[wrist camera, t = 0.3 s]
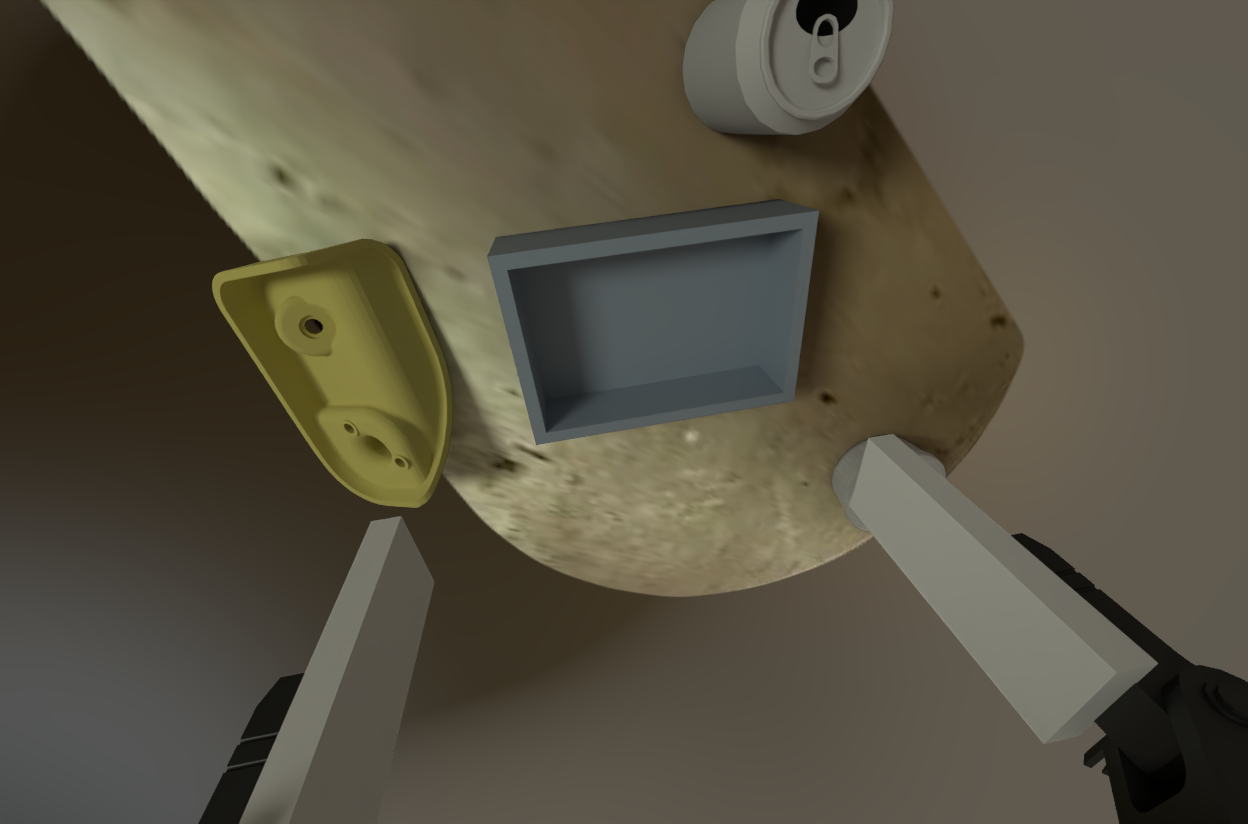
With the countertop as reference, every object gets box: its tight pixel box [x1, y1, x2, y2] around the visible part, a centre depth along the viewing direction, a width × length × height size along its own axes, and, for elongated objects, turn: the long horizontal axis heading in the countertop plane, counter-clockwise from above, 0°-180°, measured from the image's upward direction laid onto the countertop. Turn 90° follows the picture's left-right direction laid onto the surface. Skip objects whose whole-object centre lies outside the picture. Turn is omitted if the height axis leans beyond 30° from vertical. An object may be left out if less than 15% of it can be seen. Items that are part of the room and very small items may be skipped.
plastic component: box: [212, 239, 453, 508], centre depth 35 cm, size 20×7×10 cm
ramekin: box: [832, 437, 946, 531], centre depth 50 cm, size 11×11×5 cm
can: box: [683, 0, 894, 135], centre depth 25 cm, size 8×8×12 cm
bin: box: [487, 199, 819, 445], centre depth 35 cm, size 15×22×6 cm
